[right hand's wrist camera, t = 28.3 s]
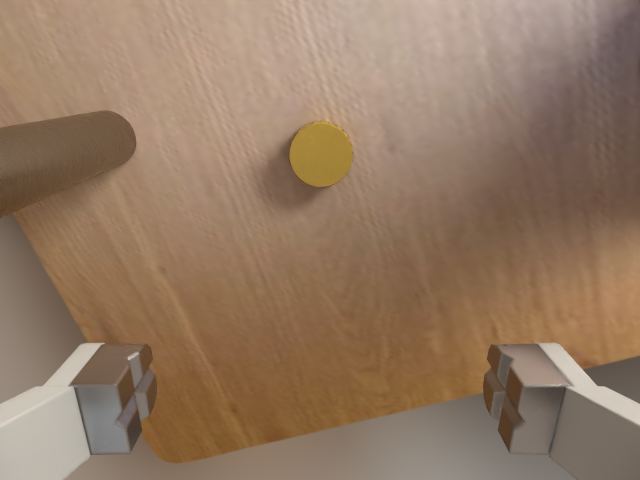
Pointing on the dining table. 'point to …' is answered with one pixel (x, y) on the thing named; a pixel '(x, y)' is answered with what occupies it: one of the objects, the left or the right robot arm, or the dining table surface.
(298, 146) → the lid
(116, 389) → the right robot arm
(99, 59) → the dining table surface
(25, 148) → the brown cylinder
